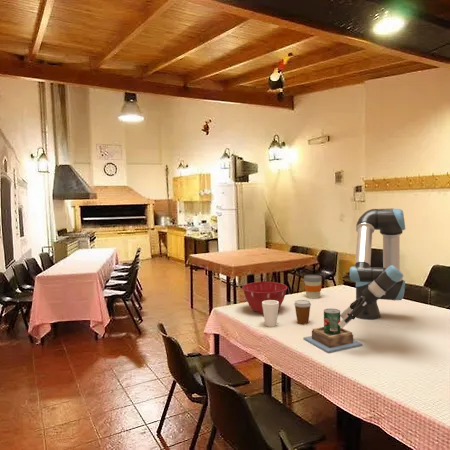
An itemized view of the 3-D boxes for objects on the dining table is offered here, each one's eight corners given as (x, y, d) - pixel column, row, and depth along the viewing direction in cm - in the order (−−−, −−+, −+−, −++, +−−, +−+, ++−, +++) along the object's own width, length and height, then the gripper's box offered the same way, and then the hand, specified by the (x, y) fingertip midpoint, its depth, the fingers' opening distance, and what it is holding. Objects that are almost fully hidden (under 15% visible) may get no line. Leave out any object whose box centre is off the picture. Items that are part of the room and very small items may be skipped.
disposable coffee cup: (311, 325, 223) (311, 304, 222) (294, 324, 225) (293, 303, 224) (311, 320, 232) (310, 299, 232) (294, 319, 234) (294, 299, 233)
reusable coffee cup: (304, 299, 279) (304, 278, 278) (303, 295, 291) (303, 274, 290) (322, 299, 277) (322, 278, 276) (321, 295, 289) (321, 274, 288)
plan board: (335, 333, 209) (335, 331, 209) (362, 345, 191) (362, 343, 191) (303, 339, 202) (303, 337, 202) (328, 353, 183) (328, 351, 183)
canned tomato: (320, 331, 198) (320, 309, 197) (333, 329, 201) (333, 307, 200) (330, 336, 191) (330, 313, 190) (344, 333, 194) (343, 311, 193)
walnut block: (334, 333, 205) (334, 324, 205) (353, 342, 193) (353, 332, 192) (311, 338, 200) (311, 328, 200) (329, 347, 187) (329, 337, 187)
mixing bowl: (295, 314, 245) (294, 289, 244) (250, 318, 238) (250, 293, 237) (277, 302, 273) (277, 280, 272) (237, 306, 266) (237, 283, 265)
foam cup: (268, 328, 220) (267, 305, 219) (259, 324, 228) (258, 301, 227) (282, 325, 224) (282, 302, 223) (273, 321, 233) (272, 299, 232)
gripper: (380, 305, 176) (345, 335, 182) (378, 291, 199) (347, 319, 205) (367, 292, 177) (333, 323, 183) (367, 280, 200) (336, 308, 206)
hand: (340, 321), depth 194 cm, fingers open, 13 cm apart
